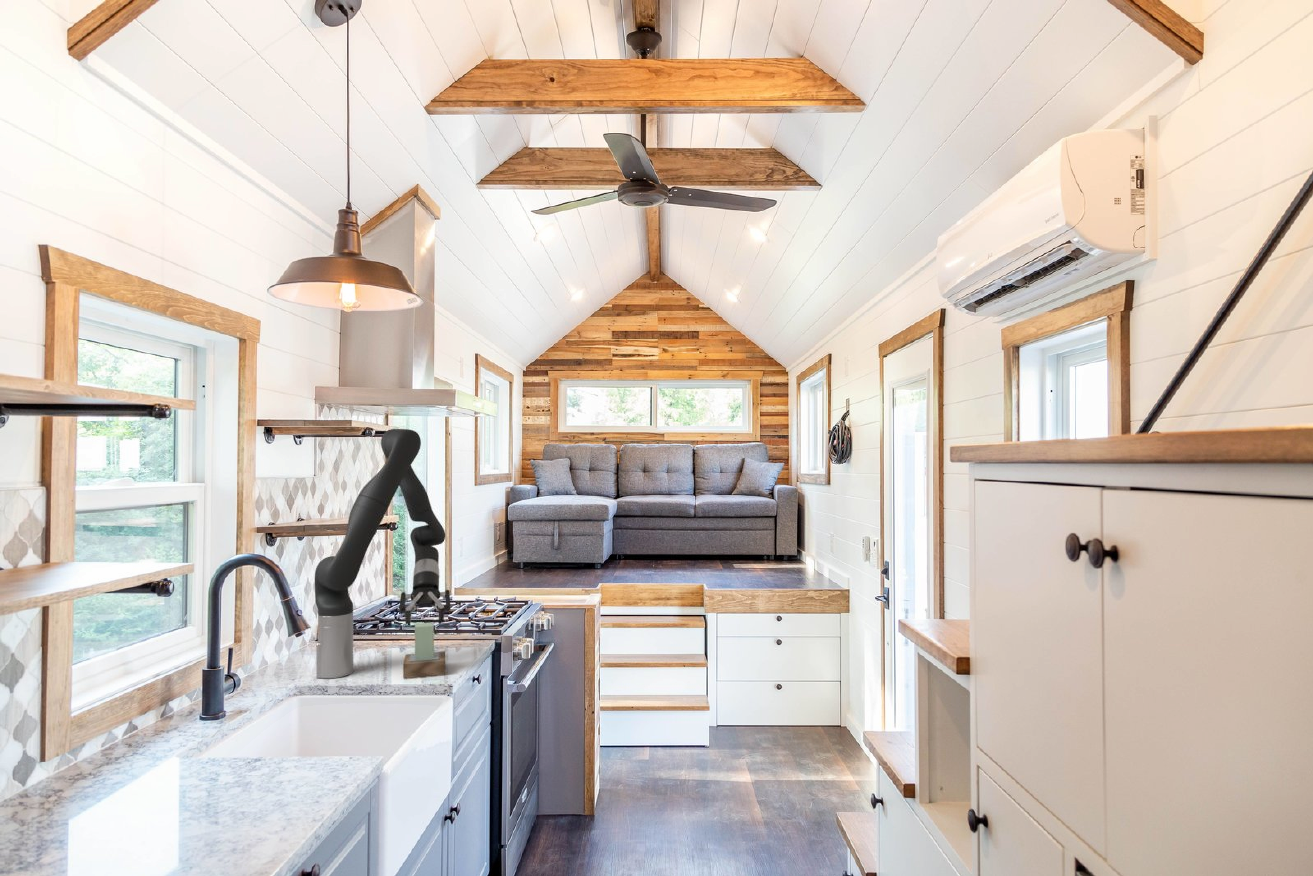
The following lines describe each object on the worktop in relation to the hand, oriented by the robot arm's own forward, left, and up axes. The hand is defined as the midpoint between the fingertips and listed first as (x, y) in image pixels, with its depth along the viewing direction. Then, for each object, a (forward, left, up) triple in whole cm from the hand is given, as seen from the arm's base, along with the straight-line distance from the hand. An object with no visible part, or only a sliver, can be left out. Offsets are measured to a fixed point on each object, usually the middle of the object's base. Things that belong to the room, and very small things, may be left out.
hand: (424, 623), depth 206 cm
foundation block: (0, -2, -13) cm, 13 cm away
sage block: (0, -2, -9) cm, 9 cm away
